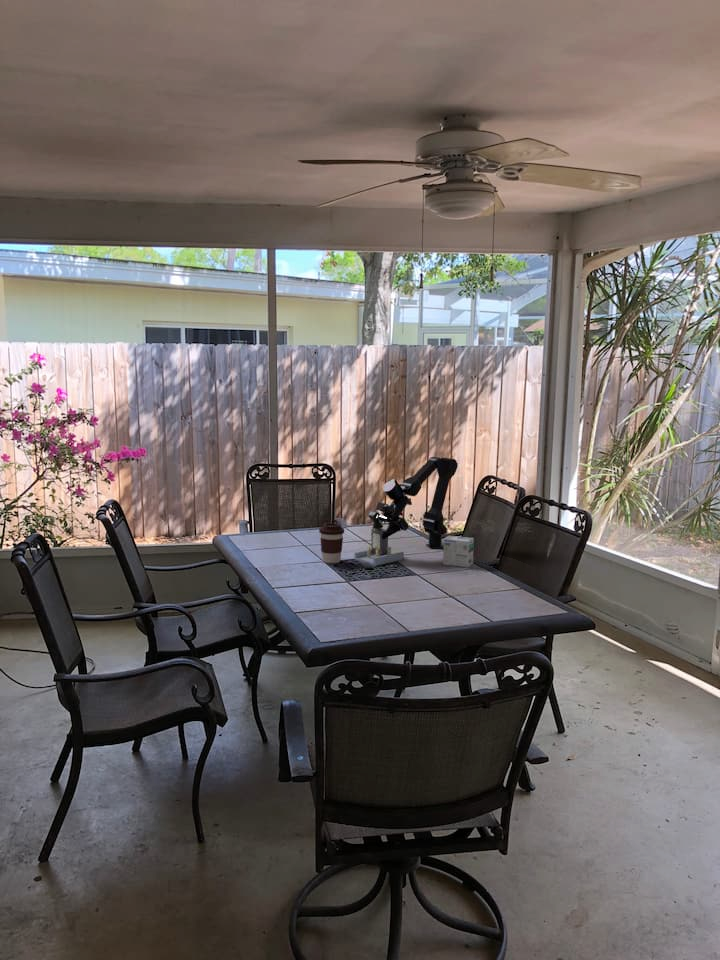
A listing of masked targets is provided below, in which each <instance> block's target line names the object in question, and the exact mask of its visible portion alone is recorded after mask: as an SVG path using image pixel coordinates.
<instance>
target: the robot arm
mask: <svg viewBox="0 0 720 960" xmlns="http://www.w3.org/2000/svg"><path fill="white" fill-rule="evenodd" d="M458 465H459V463H458V461H457V460H456V459H455V458H451V457H449V458H448V457H442V456H441V458H440V457H437V456H431V457H429V458H428V460H427V461H426V462H425V463H424V465H422V466H421V467H420V468H419V469H418V470H417V472H416V473H414V474H413V475H411V476H410V477H407V478H405V479H404V480H402V481H401V482H400V483H398V481H397V479H395V478H392V479H391V480H389V481H387V482H386V483H384V484H383V485H382V490H383V492H384V493H385V495H386V496H387V497H388V499H390V500H391V502H388V503H384V502H380V501H378V502H377V505H376V507H375V510H376V511H375V510H370V511H369V513H368V514H367V517H368V518H370V520H371V522H372V523H373V525H372V529H374V528H381V529H383V527H384V526H383V523H388V526H387V528H386V529H385V530H386V531H385V533H384V535H383V537H382V538H383V539H385V538H387V537H388V538H389V537H391V536H392V535H394V534H396V533H399V532H401V531H405V532H406V531H407V530H408V529H409V522H407V521H406V520H405V518H404V517H403V516H404V513H403V511H404V510H405V508H406V507H407V506H412V505H413V503H412V497H416V496H417V495H418V493H419V492H420V491H421V489H422V485H423V484H424V482H425V481H426V480H428V478H429V477H430V476H431V475H432V474H433V473H434V472H435V471H436V472H437V475H438V478H437V481H436V482H437V483H436V485H435V490H434V494H433V498H432V503H431V506H430V509H428V511H425V512H424V513H423V518H422V526H423V530H424V532H425V533H428V543H426V544H425V545H426V547H428V548H429V549H444V544H442V543H443V536H445V535H446V534H447V533H448V528H447V527H446V525H445V524H444V519H445V518H444V514H443V510H444V509H443V508H444V505H445V501H446V496H447V493H448V488H449V485H450V480H451V479H452V478H453V477H454V476H455V474H456V473H457V469H458V467H459V466H458ZM408 496H409V497H411V498H409V497H408ZM378 511H380V512H378ZM370 533H371V534H372V532H370ZM371 534H370V535H371Z"/></svg>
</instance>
